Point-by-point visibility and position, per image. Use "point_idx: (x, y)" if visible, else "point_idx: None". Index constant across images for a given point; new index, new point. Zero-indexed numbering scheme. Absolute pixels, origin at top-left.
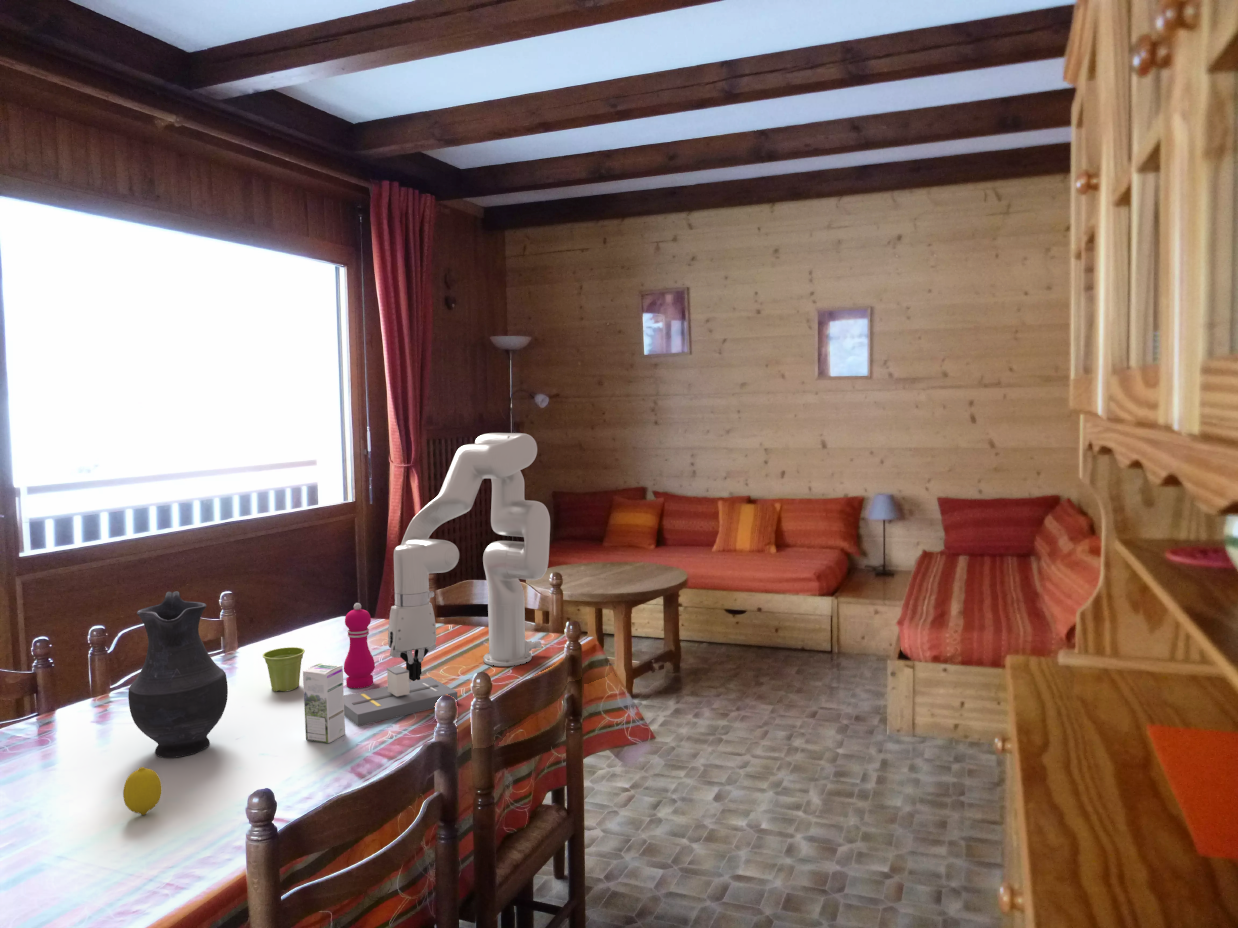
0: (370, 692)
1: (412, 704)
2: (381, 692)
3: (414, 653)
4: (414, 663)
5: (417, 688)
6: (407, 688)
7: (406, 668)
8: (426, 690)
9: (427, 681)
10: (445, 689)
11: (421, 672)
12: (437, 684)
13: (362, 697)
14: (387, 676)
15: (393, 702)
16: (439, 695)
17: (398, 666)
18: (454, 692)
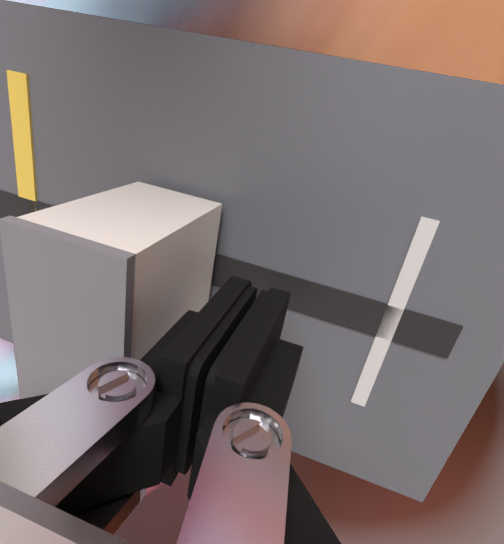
0: (68, 77)
1: None
2: (118, 140)
3: (199, 483)
4: (165, 477)
5: (319, 271)
6: None
7: (161, 343)
8: (329, 346)
9: (496, 204)
10: (415, 428)
11: (287, 402)
12: (474, 324)
13: (8, 131)
14: (65, 205)
15: None
16: (315, 455)
17: (105, 269)
18: (402, 494)
